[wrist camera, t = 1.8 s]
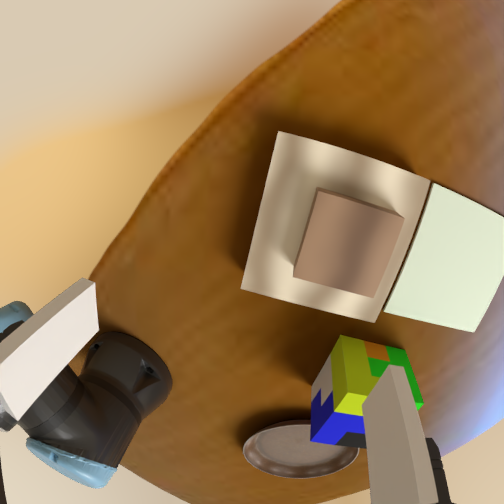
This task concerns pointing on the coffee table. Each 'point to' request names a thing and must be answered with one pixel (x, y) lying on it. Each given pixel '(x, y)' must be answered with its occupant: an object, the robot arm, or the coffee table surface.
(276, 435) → the plant saucer
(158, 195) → the coffee table surface
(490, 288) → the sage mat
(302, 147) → the plate
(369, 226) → the walnut tile
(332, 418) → the puzzle toy
